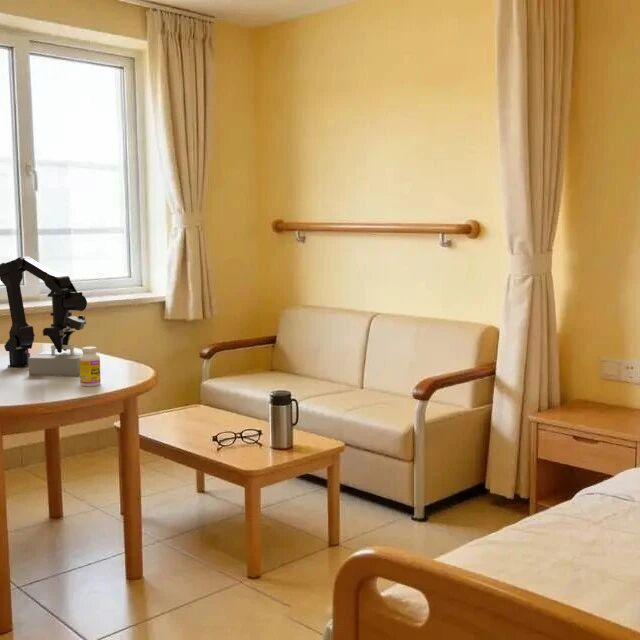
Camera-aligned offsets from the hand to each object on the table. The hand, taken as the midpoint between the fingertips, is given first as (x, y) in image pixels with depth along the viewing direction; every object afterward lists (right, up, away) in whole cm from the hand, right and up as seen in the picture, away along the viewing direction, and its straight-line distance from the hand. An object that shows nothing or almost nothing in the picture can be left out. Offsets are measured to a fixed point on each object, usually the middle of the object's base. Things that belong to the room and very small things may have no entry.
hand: (62, 351), depth 286 cm
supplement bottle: (+17, -11, -22) cm, 30 cm away
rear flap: (0, -1, +2) cm, 2 cm away
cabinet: (0, -8, -1) cm, 7 cm away
